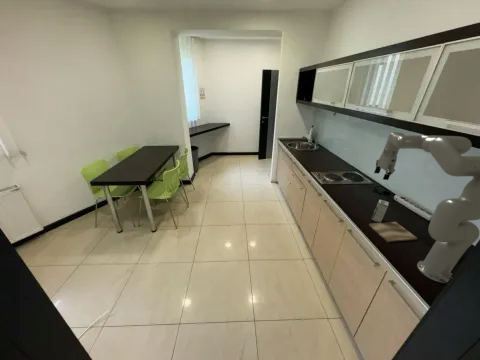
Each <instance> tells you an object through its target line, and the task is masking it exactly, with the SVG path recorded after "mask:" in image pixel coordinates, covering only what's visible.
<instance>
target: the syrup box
mask: <svg viewBox="0 0 480 360" xmlns="http://www.w3.org/2000/svg"><path fill="white" fill-rule="evenodd" d="M389 204H390V202H389V201H386V200H383V199H379V200H378V202H377V205H376V207H375V209H374V211H373V215H372V217H371V220H372V221H374V222H375V223H382V221H383V219H384V217H385V214H386V212H387V210H388V207H389Z"/></svg>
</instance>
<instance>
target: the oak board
mask: <svg viewBox="0 0 480 360" xmlns="http://www.w3.org/2000/svg"><path fill="white" fill-rule="evenodd" d="M368 226H369V227H371V228H372V230H373V231H375V232H376V233H377V234H378V235H379V236H380V237H381V238H383V240H385V241H386V242H387V243H391V242H403V241H417V240H418V237H417V236H415V235H414V234H413V233H411V232H410V231H409V230H407V229H406V228H404V227H403V226H402V225H400V224H399V223H398V222H397V221H390V222H387V221H386V222H381V223H379V222H375V223H374V222H373V223H369V224H368Z"/></svg>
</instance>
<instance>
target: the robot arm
mask: <svg viewBox="0 0 480 360" xmlns="http://www.w3.org/2000/svg"><path fill="white" fill-rule="evenodd" d="M472 146H473V145H472V142H471V140H470V139H469V138H467V137H464V136H459V135H457V136H456V135H414V134H413V135H411V134H410V135H409V134H408V135H406V134H404V133H403V132H399V131H392V132H389V134H388V138H387V140H386V142H385V145H384V148H383V151H382V153H381V154H380V157H379V158H378V159H376V160H375V161H376V162H375V168H374V169H375V170H374V172H373V173H374V174H380V173H381V169H382V170H384V171H385V174H384V176H383V178H382V180H383V181H384V180H386V181H389V179H390V176H392V174H394V173H395V172H396V169H395V167H396V163H397V159H398V153H399V151H400V149H403V150H404V149H413V150H414V149H416V150H423V151H424V152H425V153H430V154H431V156H432V157H433V158H434V160H435V161H436V163H437V165H439V167H440V169H442V171H443V172H444V173H445V174H447V175H449V176H451V177H457V178H458V177H472V179H471V180H470V181H469V182H468V183H466V185H465V186H464V188H463V190H462V192H461V194H460V195H459V197H457V198H456V197H455V198H446V199H442V200H441V201H440V202H439V203H438V204H437V206H436V207H435V210H434V211H433V214H432V217H431V219H430V222H429V225H428V233H429V236H430V237H431V238H432V239H434V240H435V242H434V243H433V244H432V247H431V248H430V250H429V252H428V254H427V255H426V256H425V258H424V260H419V261H418V262H417V264H416V266H417V269H418V270H419V271H420V272H421V274H422V275H423V276H425V277H426V278H428V279H430V280H432V281H435V282H437V283H441V284H448V283H447V282H448V281H449V280H450V278H452V276H453V273H452V272H451V271H453V269H454V267H455V266H456V265H457V263H458V262H459V260H460V259H461V257H462V256H463V255H464V254H465V252H467V249H469V248H470V247H471V246H472V245H473V244H474V243H476V241H477V240H478V239H479V237H480V229H479V227H478V226H477V225H476V223H474V222H472V221H479V220H480V155H479V156H477V155H470V156H469V155H465V156H463V155H464V154H466V153H468V152H469V151H470V150H471V149H472Z"/></svg>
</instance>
